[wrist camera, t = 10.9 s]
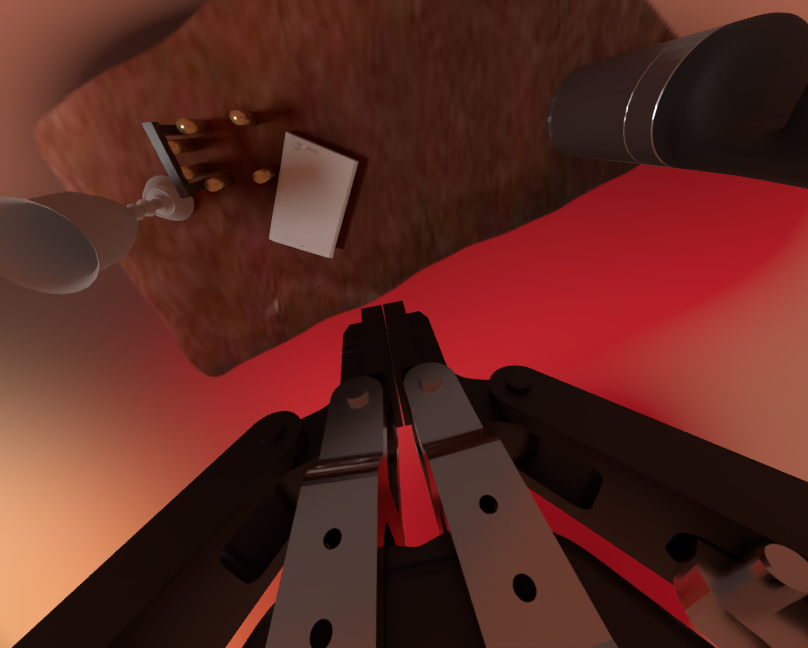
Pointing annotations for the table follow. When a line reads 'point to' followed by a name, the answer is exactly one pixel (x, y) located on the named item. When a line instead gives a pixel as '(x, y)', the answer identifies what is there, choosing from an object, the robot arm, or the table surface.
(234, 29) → the table surface
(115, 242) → the chalice
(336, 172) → the external hard drive
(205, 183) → the candles
